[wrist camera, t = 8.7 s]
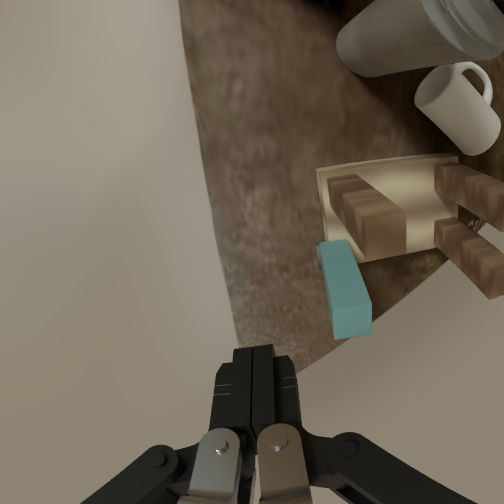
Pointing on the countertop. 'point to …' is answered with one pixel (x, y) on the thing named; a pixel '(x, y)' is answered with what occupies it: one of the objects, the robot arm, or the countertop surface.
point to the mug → (459, 107)
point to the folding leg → (344, 290)
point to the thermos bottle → (420, 35)
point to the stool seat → (415, 212)
